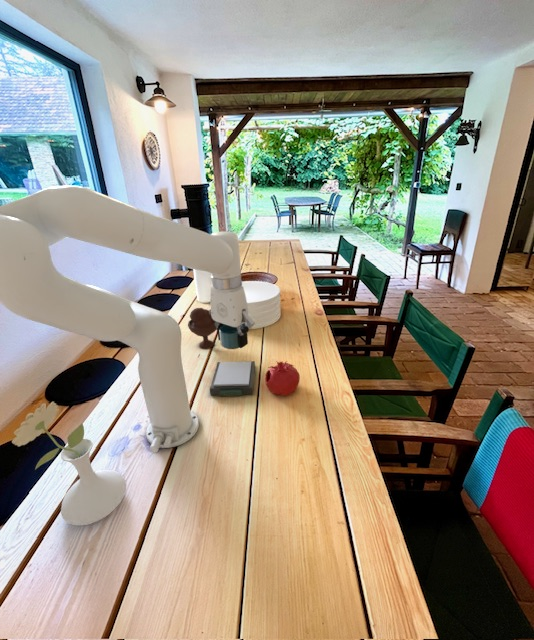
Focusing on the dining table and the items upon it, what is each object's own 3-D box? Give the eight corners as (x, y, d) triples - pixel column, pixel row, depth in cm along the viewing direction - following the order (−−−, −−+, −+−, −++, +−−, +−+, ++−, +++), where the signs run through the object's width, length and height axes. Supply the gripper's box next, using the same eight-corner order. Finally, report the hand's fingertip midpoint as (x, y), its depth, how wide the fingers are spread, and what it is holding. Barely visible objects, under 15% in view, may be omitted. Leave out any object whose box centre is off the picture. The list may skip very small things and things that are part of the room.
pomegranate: (305, 384, 95) (305, 357, 91) (289, 403, 87) (289, 374, 83) (275, 375, 100) (275, 349, 96) (258, 393, 92) (257, 365, 88)
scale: (252, 396, 90) (251, 387, 89) (210, 397, 91) (208, 388, 89) (255, 367, 104) (254, 359, 103) (218, 368, 104) (217, 360, 103)
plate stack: (206, 326, 133) (203, 301, 128) (229, 302, 158) (227, 279, 153) (272, 332, 127) (271, 305, 122) (285, 305, 151) (285, 282, 147)
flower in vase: (111, 467, 70) (78, 370, 60) (139, 496, 63) (108, 393, 53) (44, 513, 61) (-8, 408, 51) (69, 553, 54) (15, 442, 44)
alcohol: (212, 303, 157) (204, 241, 145) (195, 302, 159) (186, 241, 146) (217, 297, 165) (211, 237, 153) (201, 296, 167) (193, 238, 154)
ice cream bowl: (215, 353, 113) (210, 314, 107) (186, 351, 115) (180, 312, 109) (225, 339, 123) (221, 302, 116) (197, 337, 125) (192, 301, 119)
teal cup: (244, 350, 87) (242, 333, 85) (219, 350, 88) (217, 334, 85) (246, 338, 93) (245, 322, 91) (223, 338, 94) (221, 323, 92)
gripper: (193, 280, 85) (202, 339, 92) (242, 291, 75) (247, 357, 83) (214, 273, 90) (220, 329, 98) (262, 283, 80) (265, 345, 88)
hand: (233, 341), depth 90 cm, fingers closed on teal cup, 7 cm apart
